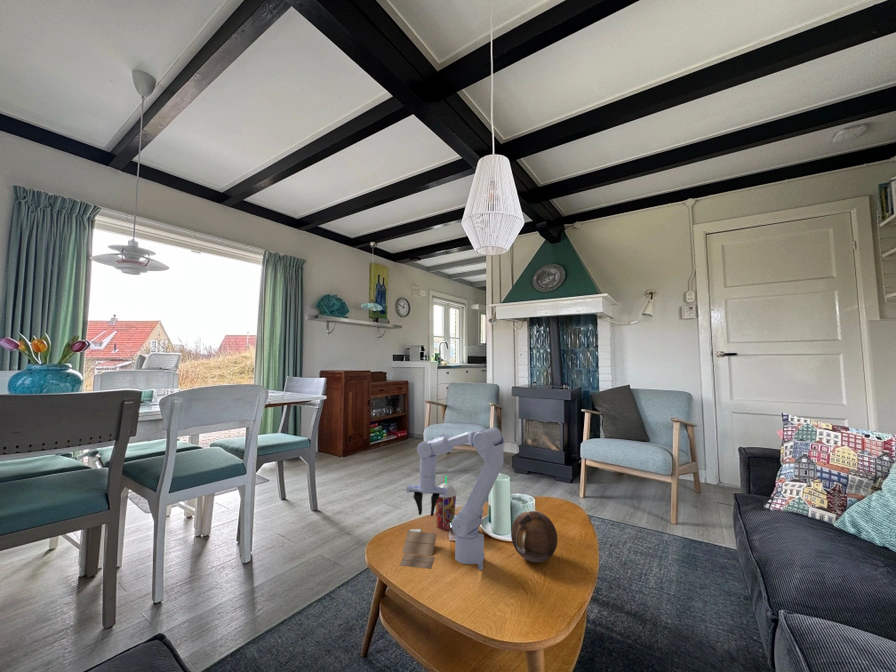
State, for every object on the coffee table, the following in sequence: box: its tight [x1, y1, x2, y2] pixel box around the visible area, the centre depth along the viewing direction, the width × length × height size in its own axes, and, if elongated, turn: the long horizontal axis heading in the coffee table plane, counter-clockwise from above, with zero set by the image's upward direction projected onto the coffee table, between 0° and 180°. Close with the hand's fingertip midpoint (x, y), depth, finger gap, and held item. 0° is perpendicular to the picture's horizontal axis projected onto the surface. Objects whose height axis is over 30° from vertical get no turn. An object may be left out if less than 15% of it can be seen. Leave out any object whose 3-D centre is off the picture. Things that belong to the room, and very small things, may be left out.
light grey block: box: [409, 528, 422, 532], centre depth 131 cm, size 4×2×2 cm, turn 101°
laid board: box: [399, 553, 436, 570], centre depth 112 cm, size 10×7×2 cm
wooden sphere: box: [510, 510, 558, 563], centre depth 118 cm, size 15×15×15 cm
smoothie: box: [435, 475, 457, 531], centre depth 137 cm, size 8×8×20 cm
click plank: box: [401, 530, 437, 556], centre depth 120 cm, size 10×8×1 cm
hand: (426, 514), depth 125 cm, fingers open, 4 cm apart
